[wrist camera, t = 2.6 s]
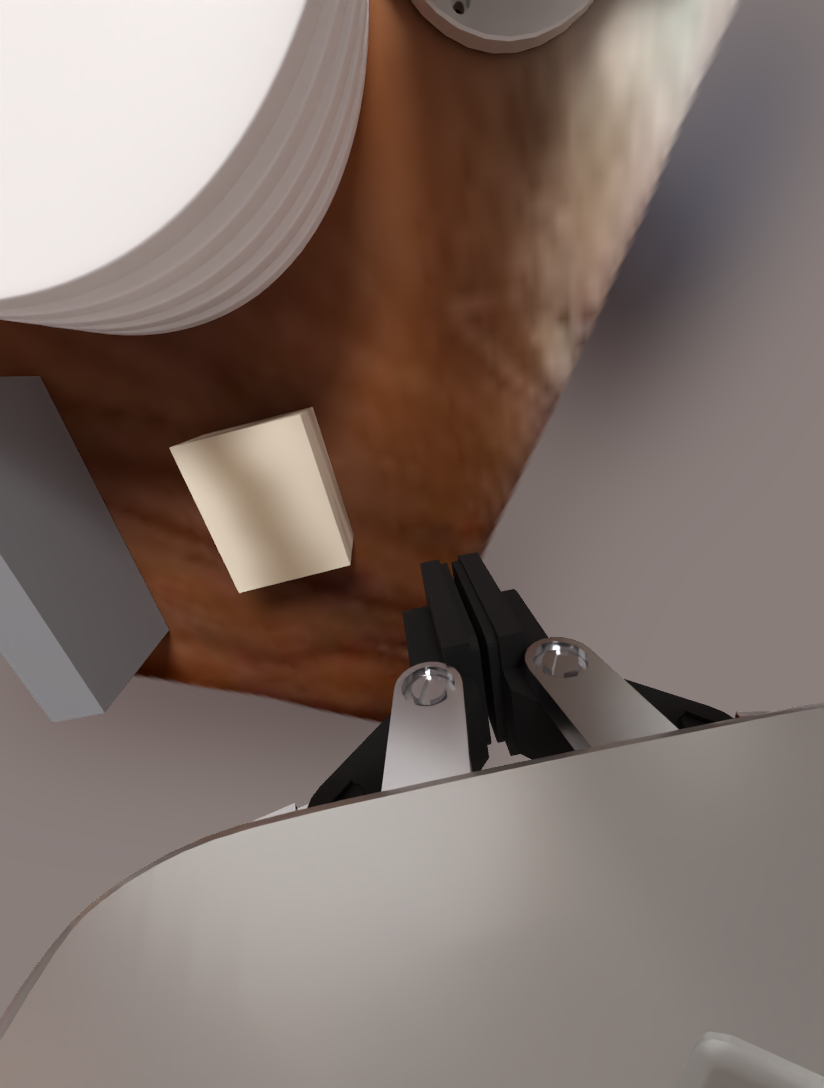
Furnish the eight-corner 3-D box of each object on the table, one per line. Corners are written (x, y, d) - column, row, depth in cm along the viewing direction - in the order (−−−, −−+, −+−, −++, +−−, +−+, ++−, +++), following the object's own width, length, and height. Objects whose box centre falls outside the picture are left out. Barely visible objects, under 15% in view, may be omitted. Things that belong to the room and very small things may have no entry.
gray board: (39, 375, 23) (-116, 378, 16) (169, 630, 30) (104, 712, 23) (-13, 385, 23) (-193, 392, 16) (129, 637, 30) (52, 722, 23)
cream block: (313, 406, 25) (299, 414, 21) (353, 534, 29) (350, 565, 24) (205, 433, 25) (169, 447, 21) (260, 557, 29) (238, 592, 24)
